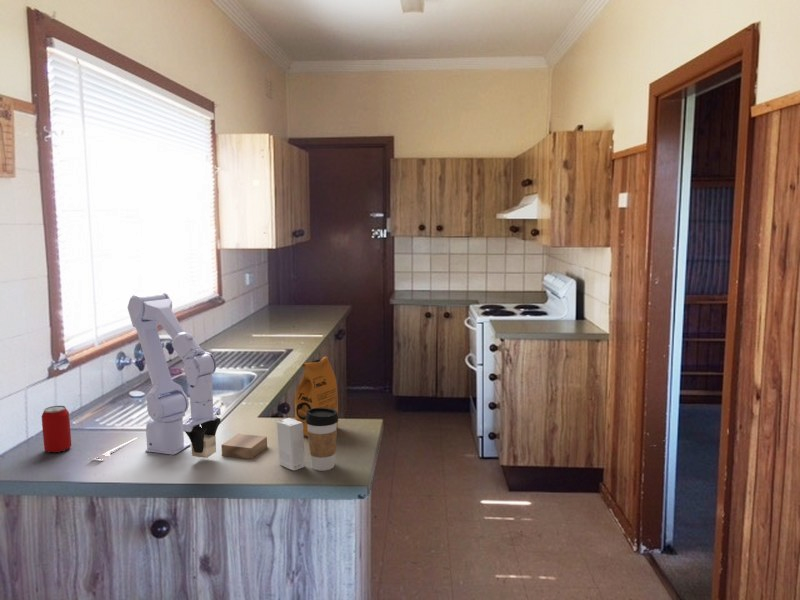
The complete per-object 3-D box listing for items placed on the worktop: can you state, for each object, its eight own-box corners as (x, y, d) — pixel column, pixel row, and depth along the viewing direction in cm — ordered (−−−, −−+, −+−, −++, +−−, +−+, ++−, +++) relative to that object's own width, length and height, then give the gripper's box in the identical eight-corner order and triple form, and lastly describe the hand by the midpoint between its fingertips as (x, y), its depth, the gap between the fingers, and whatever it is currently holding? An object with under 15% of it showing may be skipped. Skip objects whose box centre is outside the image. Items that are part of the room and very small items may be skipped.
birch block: (191, 456, 170) (191, 439, 169) (201, 449, 174) (200, 434, 174) (206, 457, 169) (206, 441, 168) (216, 451, 173) (215, 435, 172)
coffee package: (290, 433, 192) (288, 362, 189) (318, 422, 202) (317, 354, 199) (314, 440, 186) (313, 366, 183) (342, 428, 196) (341, 358, 193)
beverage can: (73, 444, 184) (69, 403, 182) (70, 452, 178) (67, 410, 176) (46, 447, 182) (42, 406, 180) (42, 455, 175) (39, 413, 174)
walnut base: (221, 455, 175) (221, 444, 175) (238, 443, 184) (238, 433, 183) (251, 458, 173) (251, 448, 172) (267, 446, 182) (266, 436, 181)
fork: (142, 440, 189) (142, 434, 189) (97, 466, 169) (96, 459, 169) (132, 439, 189) (132, 433, 189) (86, 464, 170) (86, 458, 170)
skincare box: (306, 466, 168) (304, 422, 166) (292, 471, 164) (290, 426, 163) (291, 460, 172) (290, 416, 170) (277, 465, 169) (276, 420, 167)
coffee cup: (307, 460, 172) (306, 406, 170) (339, 459, 172) (338, 405, 170) (305, 473, 163) (304, 416, 161) (338, 472, 164) (337, 415, 162)
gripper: (199, 409, 161) (201, 460, 163) (229, 392, 175) (231, 440, 177) (174, 406, 163) (177, 457, 165) (206, 390, 177) (208, 438, 179)
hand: (203, 448), depth 171 cm, fingers closed on birch block, 4 cm apart
